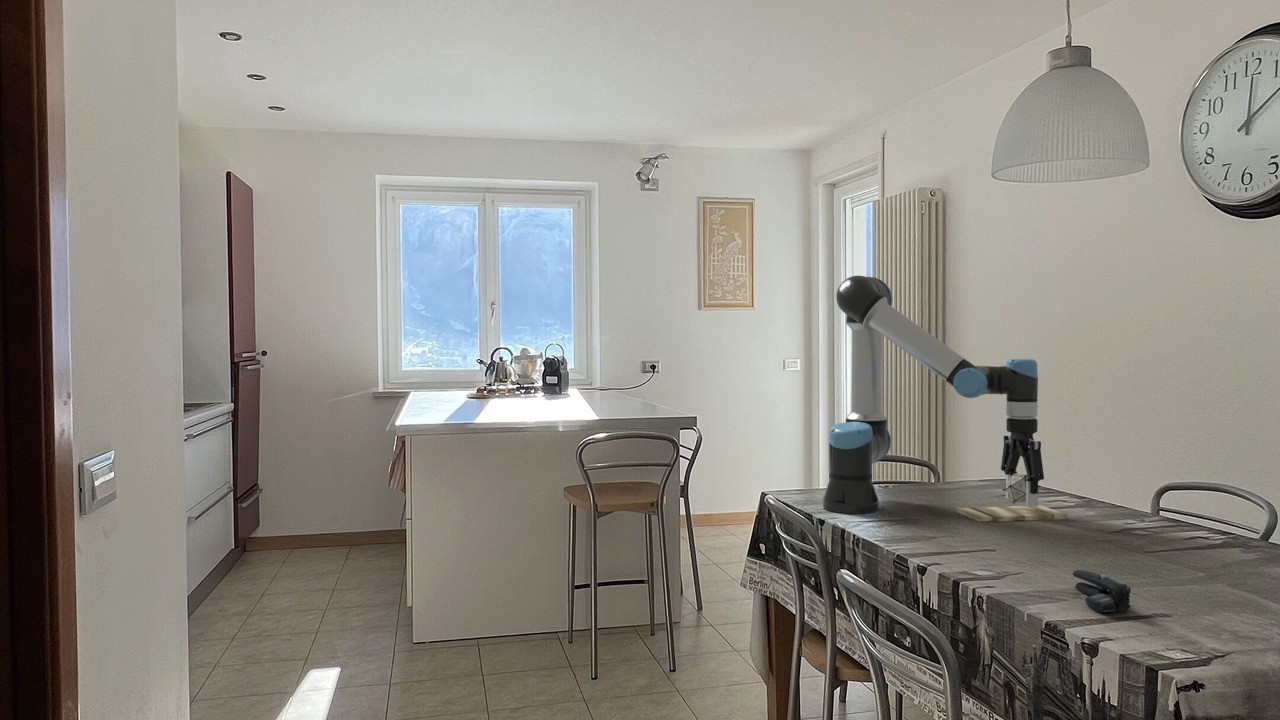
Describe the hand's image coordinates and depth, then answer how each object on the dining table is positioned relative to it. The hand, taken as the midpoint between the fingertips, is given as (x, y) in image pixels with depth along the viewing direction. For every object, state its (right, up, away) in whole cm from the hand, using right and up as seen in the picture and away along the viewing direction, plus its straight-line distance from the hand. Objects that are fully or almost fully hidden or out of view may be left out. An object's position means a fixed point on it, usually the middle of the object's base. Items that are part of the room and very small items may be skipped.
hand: (1021, 502), depth 230 cm
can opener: (-18, -6, -73) cm, 75 cm away
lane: (-3, -4, 0) cm, 5 cm away
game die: (0, 0, 0) cm, 0 cm away
